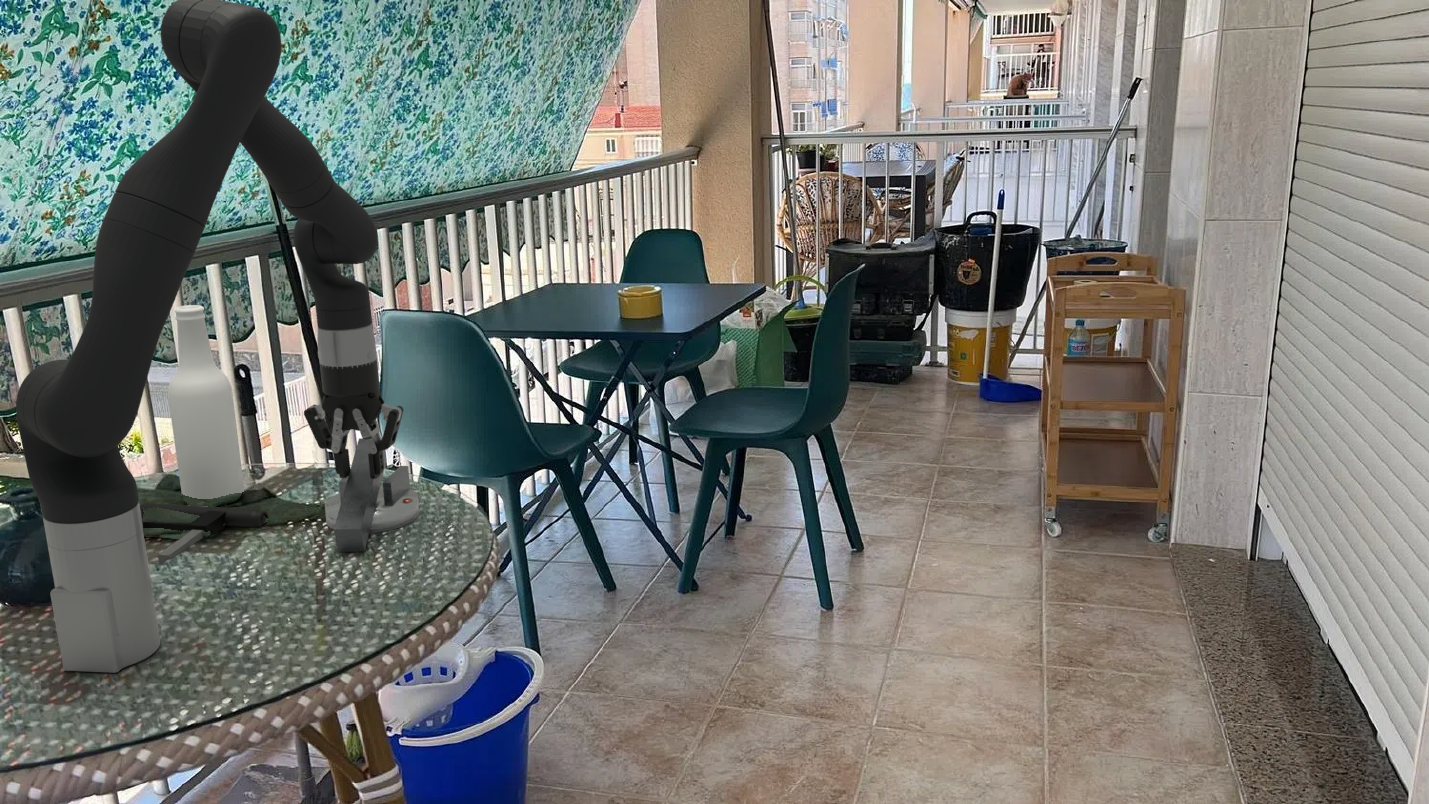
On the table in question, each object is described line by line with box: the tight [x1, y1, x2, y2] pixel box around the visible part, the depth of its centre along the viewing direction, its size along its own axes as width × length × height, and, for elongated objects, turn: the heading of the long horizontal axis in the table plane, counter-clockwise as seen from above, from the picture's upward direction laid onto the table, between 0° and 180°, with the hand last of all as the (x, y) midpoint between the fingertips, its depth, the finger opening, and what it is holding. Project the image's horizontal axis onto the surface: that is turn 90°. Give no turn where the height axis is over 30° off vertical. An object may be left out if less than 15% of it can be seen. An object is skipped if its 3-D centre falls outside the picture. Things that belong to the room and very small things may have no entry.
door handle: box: [140, 502, 269, 564], centre depth 158 cm, size 3×20×16 cm
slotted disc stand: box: [324, 465, 420, 534], centre depth 164 cm, size 13×13×6 cm
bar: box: [333, 437, 387, 553], centre depth 159 cm, size 20×4×4 cm, turn 5°
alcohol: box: [167, 304, 245, 499], centre depth 170 cm, size 9×9×30 cm
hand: (360, 476), depth 159 cm, fingers open, 4 cm apart
